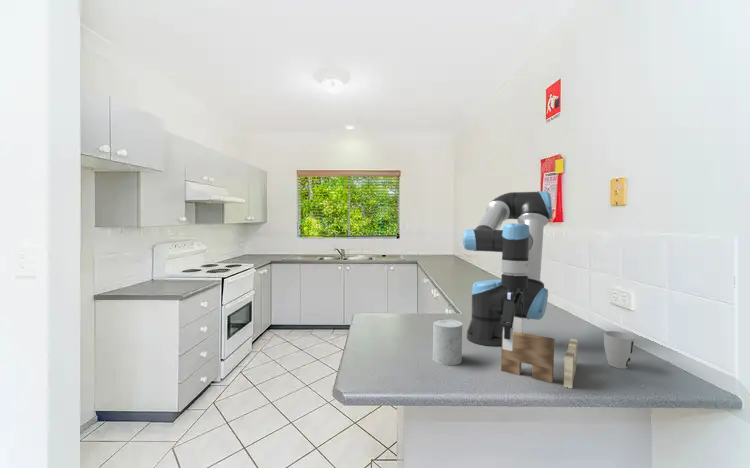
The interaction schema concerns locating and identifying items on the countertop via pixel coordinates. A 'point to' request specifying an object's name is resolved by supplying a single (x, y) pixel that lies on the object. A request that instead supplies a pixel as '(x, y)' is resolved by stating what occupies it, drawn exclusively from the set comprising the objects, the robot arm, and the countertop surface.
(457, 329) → the grey stone cylinder
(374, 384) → the countertop surface
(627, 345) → the cup
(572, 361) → the maple plate
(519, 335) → the brown wooden board
